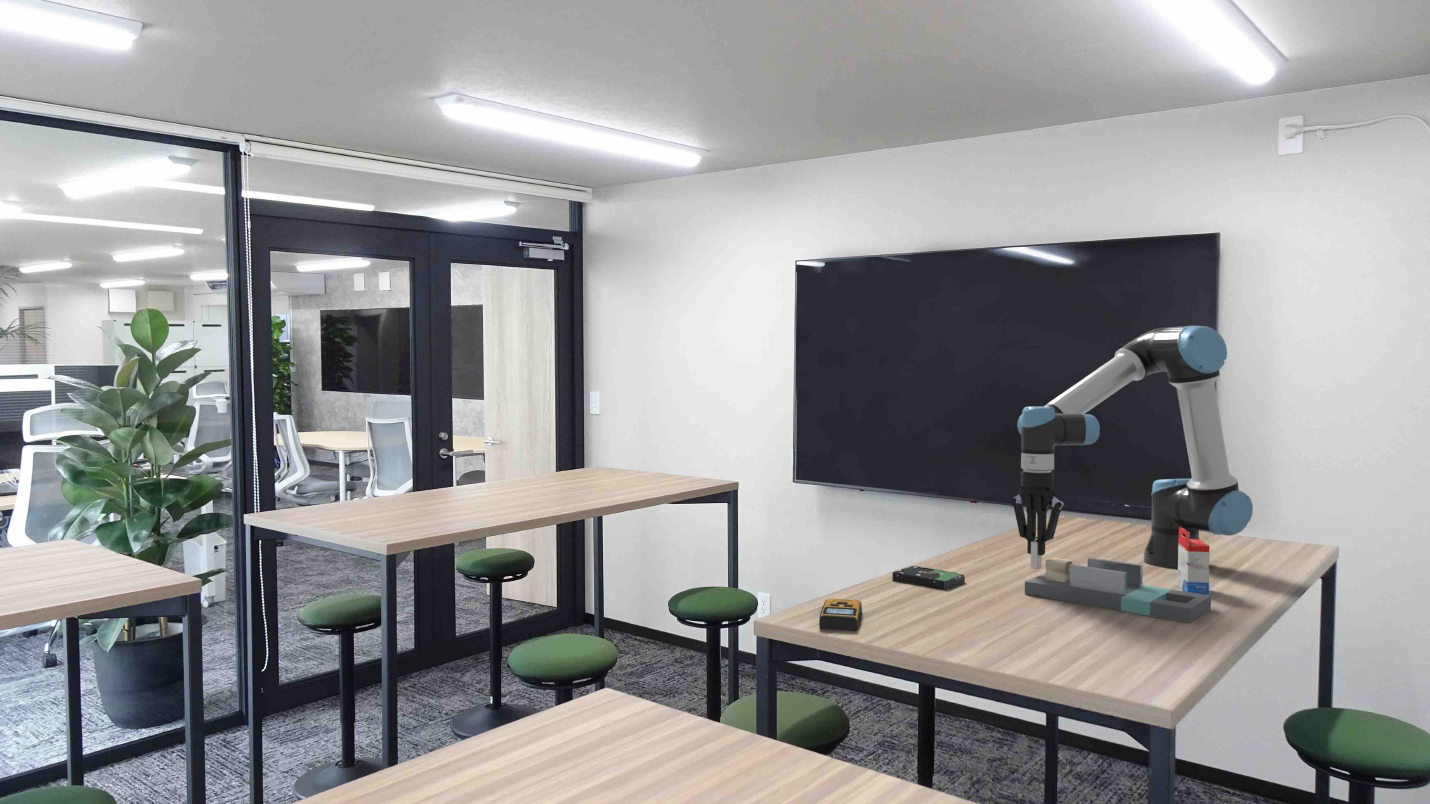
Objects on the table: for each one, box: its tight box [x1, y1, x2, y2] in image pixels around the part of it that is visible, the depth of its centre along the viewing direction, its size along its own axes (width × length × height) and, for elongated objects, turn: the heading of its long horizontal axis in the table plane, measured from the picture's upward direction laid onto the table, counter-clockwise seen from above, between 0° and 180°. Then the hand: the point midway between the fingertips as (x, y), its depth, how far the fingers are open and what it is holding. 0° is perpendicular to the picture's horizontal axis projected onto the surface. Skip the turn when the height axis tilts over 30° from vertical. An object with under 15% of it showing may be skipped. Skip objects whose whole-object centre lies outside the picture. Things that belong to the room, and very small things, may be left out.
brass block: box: [1045, 557, 1073, 582], centre depth 220 cm, size 4×4×4 cm
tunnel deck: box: [1024, 557, 1212, 624], centre depth 211 cm, size 15×36×8 cm, turn 47°
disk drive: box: [892, 565, 966, 591], centre depth 231 cm, size 10×3×15 cm
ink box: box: [1177, 527, 1210, 595], centre depth 221 cm, size 8×5×15 cm, turn 168°
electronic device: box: [818, 598, 863, 632], centre depth 196 cm, size 8×16×3 cm, turn 168°
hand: (1036, 568), depth 224 cm, fingers closed
